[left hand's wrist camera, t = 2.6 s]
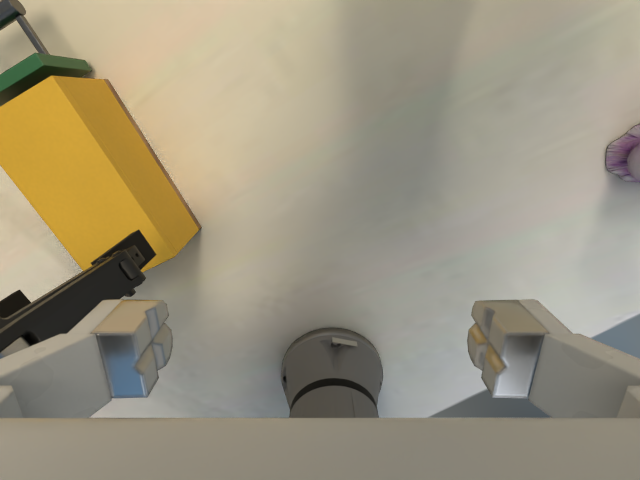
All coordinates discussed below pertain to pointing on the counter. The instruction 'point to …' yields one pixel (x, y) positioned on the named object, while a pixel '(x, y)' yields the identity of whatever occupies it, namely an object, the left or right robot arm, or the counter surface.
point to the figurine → (625, 156)
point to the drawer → (32, 58)
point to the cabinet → (91, 170)
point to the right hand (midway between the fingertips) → (84, 273)
